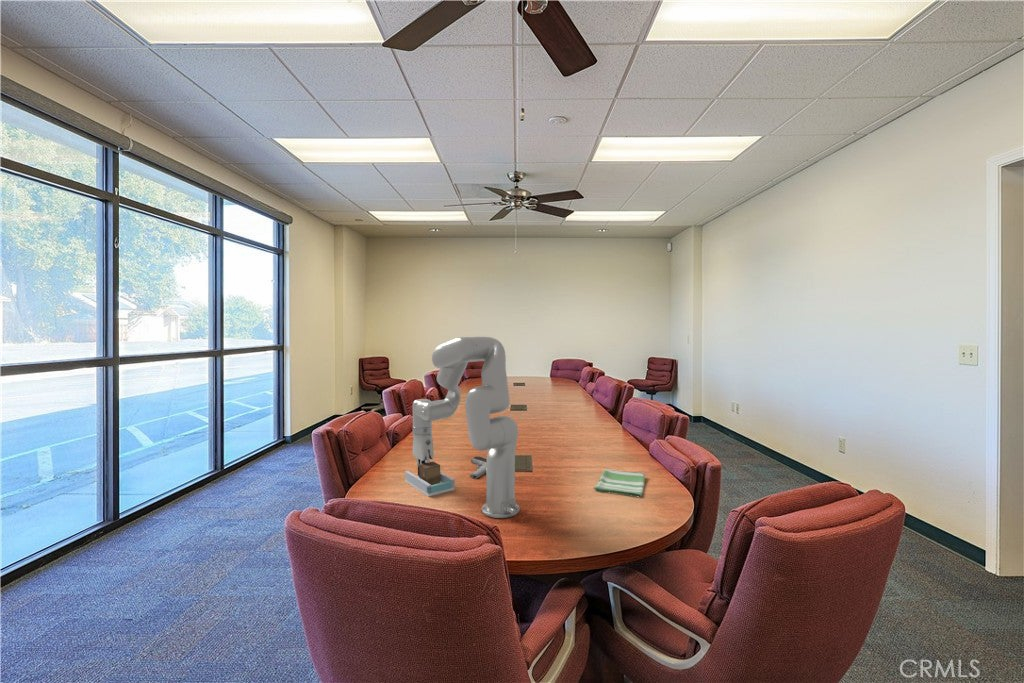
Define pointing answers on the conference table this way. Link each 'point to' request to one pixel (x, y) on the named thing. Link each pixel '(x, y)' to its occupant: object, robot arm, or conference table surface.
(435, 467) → the block
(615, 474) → the dish towel
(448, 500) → the conference table surface
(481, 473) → the pistol
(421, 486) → the bay
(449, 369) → the robot arm
